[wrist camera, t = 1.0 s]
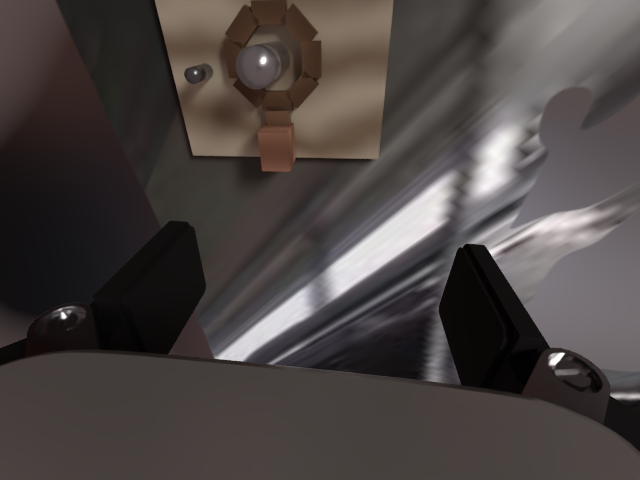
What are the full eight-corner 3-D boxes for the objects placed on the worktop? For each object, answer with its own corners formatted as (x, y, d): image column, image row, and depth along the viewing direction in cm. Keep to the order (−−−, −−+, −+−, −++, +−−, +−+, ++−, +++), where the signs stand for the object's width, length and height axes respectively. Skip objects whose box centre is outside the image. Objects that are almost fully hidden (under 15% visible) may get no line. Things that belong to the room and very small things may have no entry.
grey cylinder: (193, 42, 31) (150, 47, 24) (289, 41, 30) (271, 45, 24) (201, 78, 33) (163, 92, 26) (291, 78, 32) (275, 92, 26)
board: (143, -74, 27) (135, -78, 26) (400, -85, 26) (402, -89, 25) (197, 152, 39) (193, 155, 38) (377, 155, 37) (378, 159, 36)
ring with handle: (220, 1, 29) (203, -2, 25) (321, -1, 28) (316, -4, 25) (244, 157, 37) (233, 170, 34) (322, 158, 36) (319, 172, 33)
